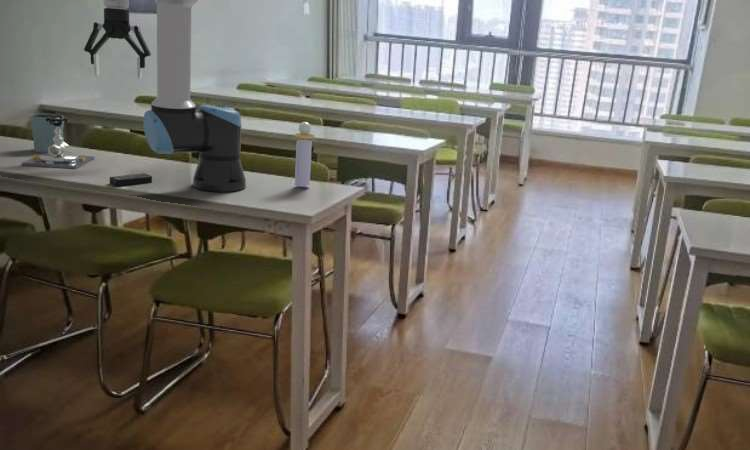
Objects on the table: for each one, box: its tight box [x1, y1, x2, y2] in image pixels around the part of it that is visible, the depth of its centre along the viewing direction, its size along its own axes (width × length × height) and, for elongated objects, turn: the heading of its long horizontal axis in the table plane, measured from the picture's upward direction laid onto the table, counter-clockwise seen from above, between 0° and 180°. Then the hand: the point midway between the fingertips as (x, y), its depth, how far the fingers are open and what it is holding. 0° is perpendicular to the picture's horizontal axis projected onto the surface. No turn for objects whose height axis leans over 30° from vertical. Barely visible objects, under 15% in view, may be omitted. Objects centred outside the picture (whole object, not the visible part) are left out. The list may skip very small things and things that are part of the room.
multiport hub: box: [109, 173, 153, 188], centre depth 188 cm, size 4×11×2 cm, turn 138°
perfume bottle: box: [294, 121, 315, 188], centre depth 196 cm, size 6×6×20 cm
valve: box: [46, 116, 70, 157], centre depth 204 cm, size 7×7×12 cm
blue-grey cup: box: [29, 112, 65, 154], centre depth 220 cm, size 10×10×12 cm
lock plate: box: [21, 151, 95, 170], centre depth 206 cm, size 16×16×2 cm
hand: (118, 76), depth 212 cm, fingers open, 13 cm apart
